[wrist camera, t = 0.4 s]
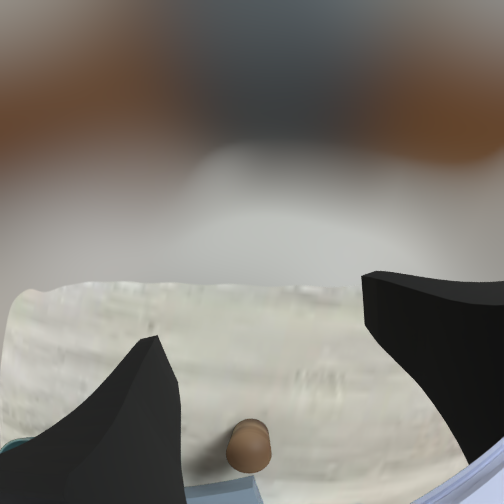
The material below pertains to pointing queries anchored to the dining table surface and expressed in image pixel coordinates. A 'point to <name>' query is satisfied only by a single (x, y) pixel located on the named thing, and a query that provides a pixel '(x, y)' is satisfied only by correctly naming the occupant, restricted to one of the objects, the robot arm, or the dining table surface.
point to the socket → (225, 492)
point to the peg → (249, 447)
